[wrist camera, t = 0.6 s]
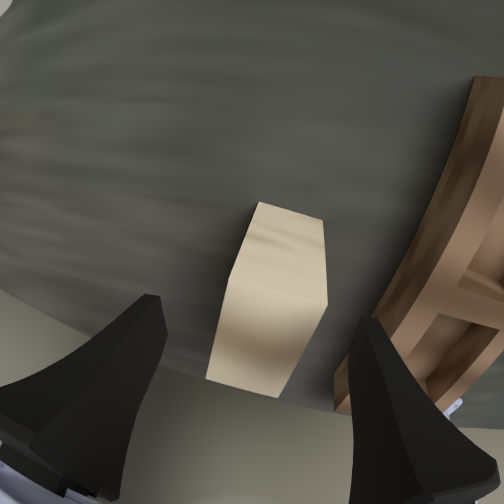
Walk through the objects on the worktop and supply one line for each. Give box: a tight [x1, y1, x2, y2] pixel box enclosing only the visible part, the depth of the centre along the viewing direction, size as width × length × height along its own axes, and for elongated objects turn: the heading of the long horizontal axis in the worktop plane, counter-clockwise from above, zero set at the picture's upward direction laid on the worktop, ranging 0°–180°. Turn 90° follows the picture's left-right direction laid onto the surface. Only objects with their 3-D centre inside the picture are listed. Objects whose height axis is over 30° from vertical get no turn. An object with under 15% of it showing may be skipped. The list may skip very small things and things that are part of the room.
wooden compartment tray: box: [334, 76, 504, 414], centre depth 17 cm, size 25×10×4 cm, turn 166°
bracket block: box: [206, 202, 328, 398], centre depth 18 cm, size 7×4×8 cm, turn 166°
